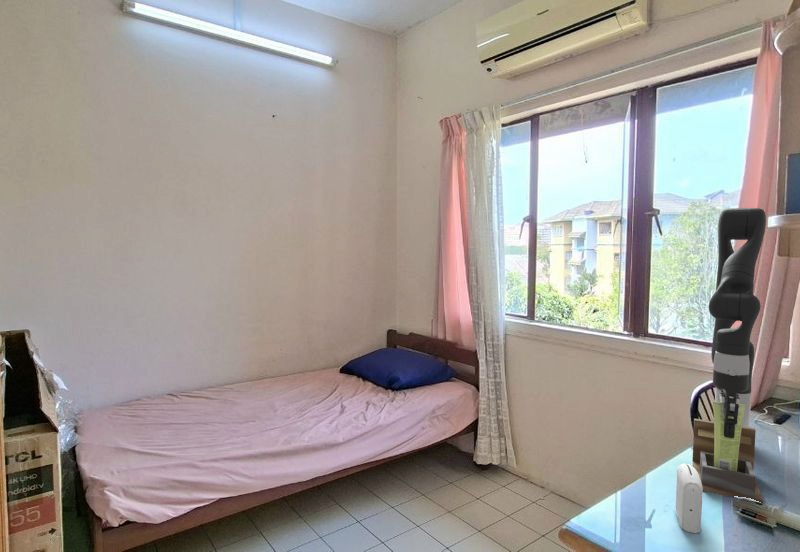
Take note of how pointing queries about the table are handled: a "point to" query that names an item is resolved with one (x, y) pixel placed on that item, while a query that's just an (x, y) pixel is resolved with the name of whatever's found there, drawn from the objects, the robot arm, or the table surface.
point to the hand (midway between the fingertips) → (727, 433)
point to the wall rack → (724, 479)
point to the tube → (726, 439)
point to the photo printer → (689, 498)
